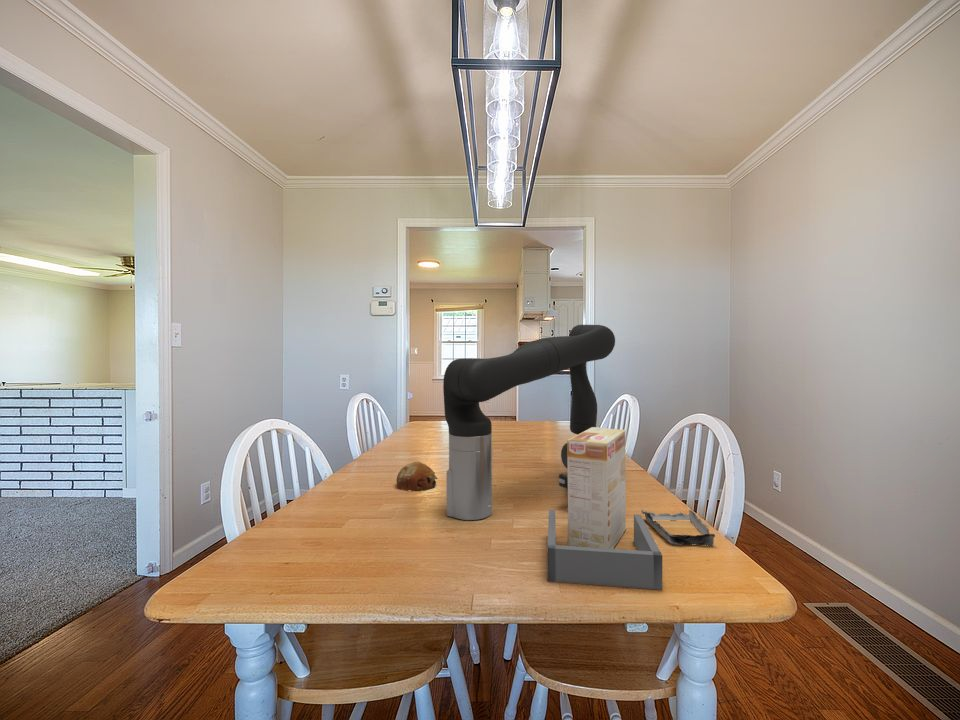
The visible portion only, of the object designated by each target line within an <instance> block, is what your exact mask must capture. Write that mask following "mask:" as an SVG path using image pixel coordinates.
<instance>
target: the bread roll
mask: <svg viewBox="0 0 960 720" xmlns="http://www.w3.org/2000/svg"><path fill="white" fill-rule="evenodd" d="M436 480H438V477H437V475H436V473H435V471H434V470H433V469H432V468H431V467H430V466H428V465H427V464H425V463H423V462H420V461H413V462H411V463H410V462H409V463H408V464H406V465H405V466H402V468H401V469H400V470H399V472H398V473H397V476H396V485H397V488H398V489H399V490H402V489H403V490H402V491H408V490H411V492H422V491H421V490H423V491H428V490H430V488H431V489H433V488H434V487H435V486H437V485H436V483H437V481H436Z"/></svg>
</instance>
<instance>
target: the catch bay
mask: <svg viewBox="0 0 960 720" xmlns="http://www.w3.org/2000/svg"><path fill="white" fill-rule="evenodd" d="M547 524H548V525H547V526H548V527H547V548H546V549H547V553H546V554H547V559H546V561H547V563H546V565H547V579H546V580H547V582H554V583H565V584H566V583H567V584H568V583H569V584H578V585H579V584H580V585H592V586H593V585H594V586H605V587H616V588H619V587H620V588H629V589H630V588H631V589H632V588H634V589H646V590H656V591H657V590H658V591H663V554H662V553H661V550H660V547H659V546H658V545H657V543H656V541H655V539H654V537H653V535H652V533H651V531H650V530H649V527H648V526H647V524H646V521H645V520H644V518H643V517H642V515H641V514H637V513H633V543H634V545H635V548H636V549H634V550H633V549H620V548H619V549H618V548H613V549H606V548H591V547H575V546H568V545H559V544H558V545H557V544H556V542H557V541H556V539H557V538H556V526H557V525H556V524H557V523H556V510H555V509H548V523H547Z"/></svg>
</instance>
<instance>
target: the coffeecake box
mask: <svg viewBox="0 0 960 720" xmlns="http://www.w3.org/2000/svg"><path fill="white" fill-rule="evenodd" d="M626 432H627V431H626V429H617V428H609V427H598V426H596V427H591V428H589V429H588V430H586V431H584V432H582V433H580V434H578V435H577V434H575V435H574V436H572V437H571V438H569V439H566V443H567V468H566V469H567V475H568V489H567V546H575V547H591V548H606V549H615V547H616V545H618V543H619V541H620V540H621V538H622V536H623V535H624V533H625V532H626V530H627V525H626V523H627V522H626V519H627V517H626V516H627V515H626V513H627V511H626V508H627V507H626V506H627V505H626V501H627V500H626V499H627V498H626V496H627V495H626V494H627V493H626V491H627V490H626V488H627V487H626Z"/></svg>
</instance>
